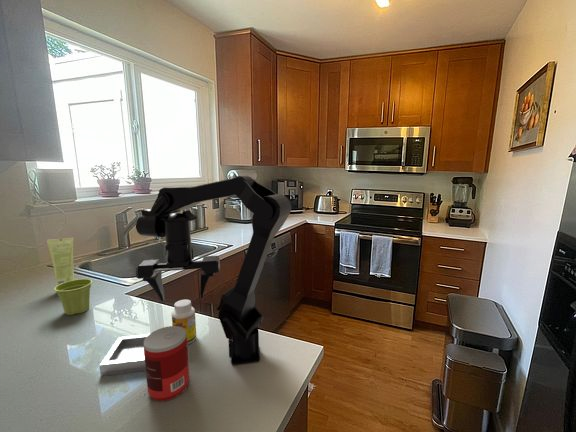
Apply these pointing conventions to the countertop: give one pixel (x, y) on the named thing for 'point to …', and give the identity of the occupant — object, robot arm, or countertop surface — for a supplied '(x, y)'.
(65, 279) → the tube
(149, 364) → the canned food
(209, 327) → the countertop surface
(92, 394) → the countertop surface
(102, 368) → the square metal tray
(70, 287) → the plant pot
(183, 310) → the supplement bottle
